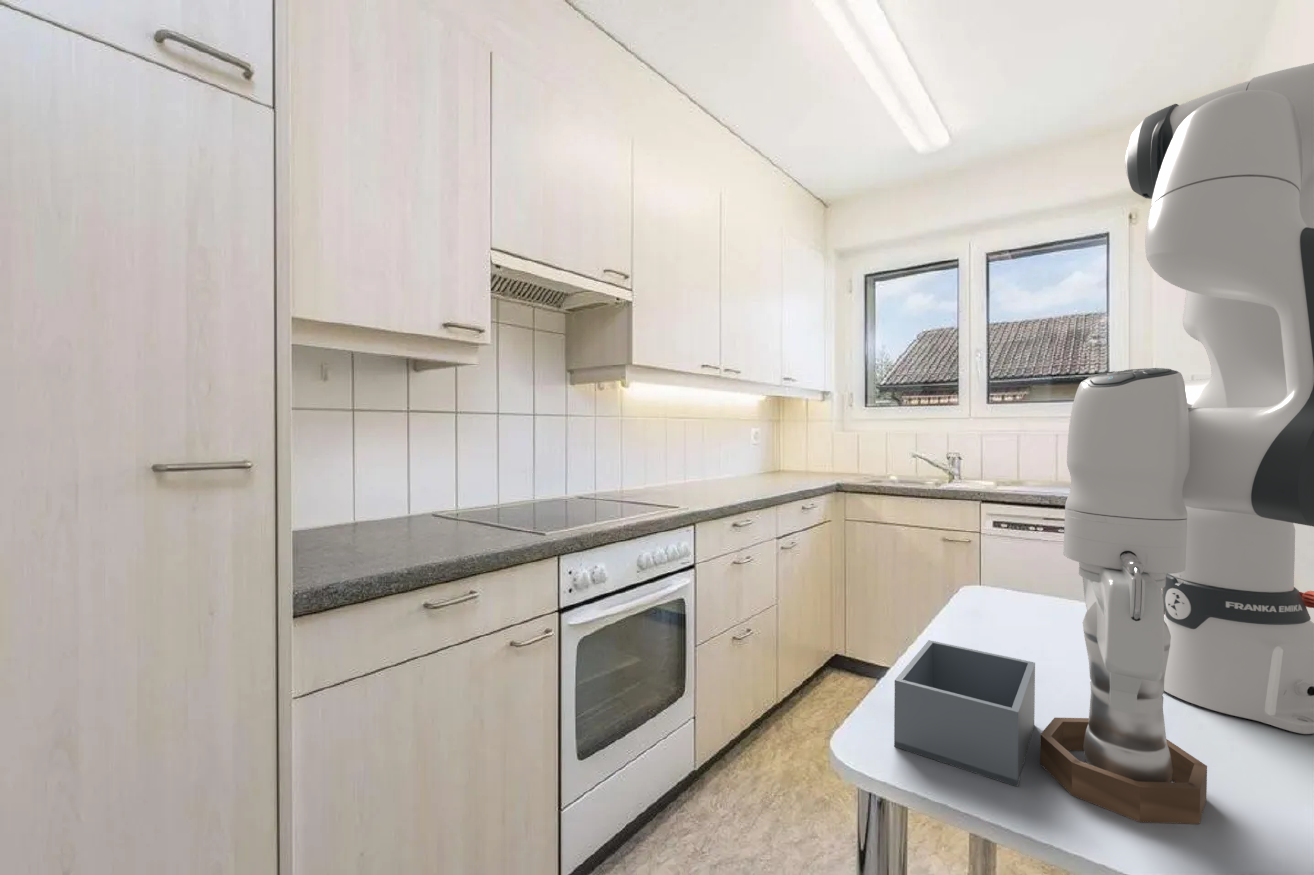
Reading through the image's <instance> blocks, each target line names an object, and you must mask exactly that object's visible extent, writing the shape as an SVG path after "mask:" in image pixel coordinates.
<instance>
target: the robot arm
mask: <svg viewBox="0 0 1314 875" xmlns="http://www.w3.org/2000/svg"><path fill="white" fill-rule="evenodd" d="M1127 146H1128V147H1127V149H1126V152H1125V158H1124V169H1125V174H1126V177H1127V180H1128V182H1129V186H1130V188H1131V190H1132V191H1133V192H1134V193H1136V194H1138V195H1139V196H1141V197H1142V198H1144V199H1149V200H1151V202H1150V207H1149V212H1148V216H1147V217H1148V218H1147V224H1146V228H1145V229H1146V230H1145V236H1144V237H1145V238H1144V246H1145V247H1144V248H1145V257H1146V260H1147V262H1148V264H1149V265H1150V267H1151V268H1152V269H1153V271H1154V272H1155V273H1156V274H1157V275H1158V277H1160V278H1161V279H1163V280H1164V281H1166V282H1168V283H1170V284H1171V285H1173V286H1175V287H1177V288H1180V289H1182V290H1185V298H1184V306H1183V307H1184V308H1183V314H1182V315H1183V316H1182V326H1183V329H1184V331H1185V332H1186V334H1187V335H1188V336H1190V337H1191V338H1192V339H1194V340H1196V341H1198V342H1200V343H1201V344H1202V345H1203V347H1204V349H1205V351H1206V354H1207V356H1208V360H1209V364H1210V372H1211V373H1210V375H1211V376H1210V378H1202V379H1191V380H1184V377H1183V374H1182V373H1181V372H1179V371H1177V370H1173V369H1171V368H1167V367H1166V368H1164V367H1161V368H1160V367H1150V368H1149V367H1148V368H1134V369H1133V368H1132V369H1125V370H1124V369H1123V370H1119V371H1115V370H1114V371H1113V370H1112V371H1107V372H1101V373H1097V374H1094V375H1091V376H1089V377H1086V379H1084V380H1082V381H1081V382H1080V383H1079V385H1078V387H1077V389H1076V392H1075V396H1074V399H1073V404H1072V408H1071V412H1070V417H1069V418H1070V419H1069V425H1068V435H1067V447H1066V448H1067V449H1066V465H1067V470H1068V472H1069V476H1070V487H1069V488H1070V489H1069V493H1068V496H1067V498H1066V501H1065V506H1064V527H1063V528H1064V530H1063V532H1064V533H1063V554H1062V555H1063V556H1064V557H1066V558H1067V559H1069V560H1072V561H1075V562H1078V563H1079V564H1078V574H1079V575H1078V576H1080V577H1082V587H1083V595H1084V602H1085V608H1086V612H1087V611H1088V610H1089V608H1090V607H1091V606H1092V605H1093V603H1095V602H1096V604H1097V643H1098V646H1099V649H1100V653H1101V656H1102V659H1103V662H1104V665H1105V668H1106V669H1107V670H1108V671H1109V672H1110V684H1109V703H1110V706H1111V708H1112V709H1114V710H1115V711H1120V712H1124V713H1129V714H1133V713H1135V712H1136V709H1137V694H1138V691H1139V688H1140V685H1141V682H1142V679H1143V680H1149V681H1159V680H1160V679H1161V676H1162V674H1163V669H1164V621H1165V623H1166V624H1167V626H1168V629H1169V632H1170V634H1171V641H1170V648H1169V655H1168V661H1167V666H1166V672H1165V678H1164V692H1166V693H1167V694H1169V695H1172V696H1174V697H1176V698H1178V699H1180V700H1183V701H1185V702H1188V703H1191V704H1193V705H1196V706H1199V707H1202V708H1205V709H1208V710H1211V711H1215V712H1218V713H1222V714H1226V715H1230V716H1235V717H1238V718H1243V719H1248V720H1252V721H1256V722H1260V723H1263V724H1267V725H1269V726H1270V725H1271V726H1272V727H1275V728H1279V729H1282V730H1286V731H1289V732H1293V733H1297V734H1303V735H1311V734H1314V622H1312V621H1311V620H1312V619H1311V616H1310V614H1309V611H1308V608H1311V609H1312V608H1313V609H1314V591H1313V590H1307V591H1305V592H1302V591H1300V590H1298V589H1297V588H1296V587H1295V555H1296V554H1295V553H1296V552H1295V550H1296V528H1295V524H1297V525H1302V526H1307V527H1312V528H1314V63H1309V64H1303V65H1302V64H1301V65H1299V66H1294V67H1290V68H1286V69H1285V68H1284V69H1281V70H1277V71H1274V72H1269V73H1266V74H1262V75H1258V76H1256V77H1255V76H1254V77H1252V78H1251V79H1250V80H1247V81H1244V82H1240V83H1237V84H1234V85H1231V86H1227V87H1225V88H1222V89H1219V90H1217V91H1213V92H1210V93H1208V94H1205V95H1202V96H1199V97H1197V98H1195V99H1192V100H1189V101H1186V102H1183V103H1182V104H1178V103H1173V104H1171V105H1168V106H1166V107H1164V108H1162V109H1159V110H1157V111H1156V112H1154V113H1151V114H1150V115H1149V114H1148V115H1147V116H1146V117H1144V118H1143V120H1141V122H1140V123H1139V124H1138V125H1137V127H1135V129H1134V130H1133V131H1132V133H1131V134H1130V138H1129V142H1128V145H1127ZM1099 587H1100V589H1101V590H1100V589H1099ZM1131 617H1133V619H1135V620H1138V619H1139V618H1140V619H1141V620H1140V621H1135V620H1133V619H1132V618H1131Z"/></svg>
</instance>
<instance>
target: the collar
mask: <svg viewBox="0 0 1314 875" xmlns="http://www.w3.org/2000/svg"><path fill="white" fill-rule="evenodd" d="M1088 721H1089V717H1088V718H1087V717H1054V718H1053V719H1052V720H1051V721H1050V722H1049V724H1048V725H1047V726H1046V727H1045V728H1044V730H1042V732H1041V733H1040V736H1039V738H1040V740H1039V742H1040V747H1039V765H1040V766H1041V767H1042V768H1043V769H1044V770H1046V772H1047V773H1048V774H1049V775H1050V776H1051V777H1052V778H1053V779H1055V781H1057V783H1059V784H1060V786H1062V787H1063V788H1064V789H1065V790H1066V791H1067V793H1069V794H1070V795H1071V796H1073V797H1075V798H1078V799H1080V800H1083V801H1086V802H1088V803H1091V804H1092V805H1093V804H1094V805H1096V806H1099V807H1101V808H1102V809H1106V810H1107V811H1111V812H1114V813H1115V814H1118V815H1120V816H1123V817H1126V818H1128V819H1131V820H1133V821H1136V822H1138V823H1159V824H1163V823H1164V824H1186V825H1189V824H1191V825H1194V824H1195V825H1200V824H1201V820H1202V816H1203V812H1204V809H1205V805H1206V801H1207V799H1208V798H1207V795H1208V794H1207V793H1208V792H1207V791H1208V790H1207V789H1208V788H1207V787H1208V786H1207V785H1208V782H1207V781H1208V766H1207V765H1206V764H1205V763H1203V762H1202V761H1200V760H1199V759H1197V758H1196V757H1195V756H1193V755H1191V754H1190V753H1188V752H1187V751H1185V750H1184V749H1182V748H1180V747H1179V746H1178V745H1177V744H1175V743H1173V742H1172V741H1170V740H1169V739H1168V738H1166V741H1167V745H1168V748H1169V752H1170V756H1171V762H1172V768H1173V775H1172V779H1171V782H1140V781H1135V780H1132V779H1129V778H1126V777H1123V776H1121V775H1118V774H1115V773H1112V772H1109V771H1107V770H1104V769H1101V768H1098V767H1095V766H1093V765H1090V764H1087V763H1086V762H1084V761H1081V760H1079V759H1078V758H1077V757H1076V756H1074V755H1073V754H1072V752H1070V751H1074V752H1075V751H1078V752H1081V751H1082V752H1084V748H1083V745H1084V738H1085V733H1086V729H1087V726H1088Z"/></svg>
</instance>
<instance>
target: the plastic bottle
mask: <svg viewBox="0 0 1314 875" xmlns="http://www.w3.org/2000/svg"><path fill="white" fill-rule="evenodd" d="M1099 589H1100V587H1099ZM1100 590H1101V589H1100ZM1131 618H1132V619H1133V617H1131ZM1133 620H1135V619H1133ZM1140 620H1141V619H1140V618H1139V619H1138V620H1135V621H1140ZM1082 629H1083V630H1082V632H1083V634H1084V635H1083V636H1084V641H1085V647H1086V651H1087V652H1086V653H1087V659H1088V665H1089V667H1088V669H1089V670H1088V671H1089V678H1090V682H1089V683H1090V698H1089V699H1090V700H1089V709H1088V710H1089V711H1088V712H1089V713H1088V718H1089V721H1088V726H1087V729H1086V733H1085V738H1084V745H1083V748H1084V751H1083V753H1084V757H1085V763H1087V764H1090V765H1093V766H1095V767H1098V768H1101V769H1104V770H1107V771H1109V772H1112V773H1115V774H1118V775H1121V776H1123V777H1126V778H1129V779H1132V780H1135V781H1140V782H1172V780H1171V779H1172V775H1173V768H1172V762H1171V756H1170V752H1169V748H1168V745H1167V741H1166V739H1167V734H1166V733H1167V732H1166V725H1165V724H1166V723H1165V716H1164V696H1163V695H1164V693H1165V691H1164V678H1165V672H1166V666H1167V661H1168V655H1169V648H1170V641H1171V634H1170V632H1169V629H1168V626H1167V624H1166V623H1165V621H1164V669H1163V674H1162V676H1161V679H1160V680H1159V681H1149V680H1143V679H1142V682H1141V685H1140V688H1139V691H1138V694H1137V709H1136V712H1135V713H1133V714H1129V713H1124V712H1120V711H1115V710H1114V709H1112V708H1111V706H1110V703H1109V684H1110V672H1109V671H1108V670H1107V669H1106V668H1105V665H1104V662H1103V659H1102V656H1101V653H1100V649H1099V646H1098V643H1097V604H1096V602H1095V603H1093V605H1092V606H1091V607H1090V608H1089V610H1088V611H1087V610H1086V612H1085V615H1084V618H1083V620H1082Z"/></svg>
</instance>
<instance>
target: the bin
mask: <svg viewBox="0 0 1314 875" xmlns="http://www.w3.org/2000/svg"><path fill="white" fill-rule="evenodd" d="M1035 690H1036V662H1034V661H1030V660H1025V659H1019V658H1015V657H1010V656H1006V655H1001V654H996V653H992V652H987V651H982V650H978V649H973V648H968V647H963V646H959V645H954V644H949V643H944V642H939V641H936V640H935V641H934V640H929V639H928V640H927V641H926V643H925V644H924V645H923V646H922V647H921V649H920V650H919V651H918V652H917V653H916V654H915V656H914V657H913V658H912V659H911V661H910V662H909V663H908V664H907V665H906V666H905V667H904V668H903V670H902V671H901V672H900V673H899V674H898V675H897V677H896V678H895V679H894V706H893V708H894V709H893V710H894V718H893V719H894V724H893V726H894V729H893V731H894V733H893V735H894V736H893V738H894V739H893V740H894V742H893V746H894V747H895V748H898V749H900V750H904V751H906V752H909V753H913V754H916V755H919V756H921V757H925V758H928V759H932V760H934V761H937V762H940V763H944V764H946V765H950V766H953V767H955V768H959V769H962V770H964V771H968V772H970V773H974V774H977V775H980V776H983V777H986V778H989V779H992V780H996V781H998V782H1001V783H1004V784H1007V785H1011V786H1014V787H1017V788H1018V786H1019V782H1020V779H1021V776H1022V771H1023V768H1024V764H1025V760H1026V757H1027V752H1028V749H1029V746H1030V742H1031V738H1032V735H1033V730H1034V727H1035V703H1036V702H1035V700H1036V699H1035V698H1036V696H1035V695H1036V694H1035V693H1036V691H1035Z"/></svg>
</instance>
